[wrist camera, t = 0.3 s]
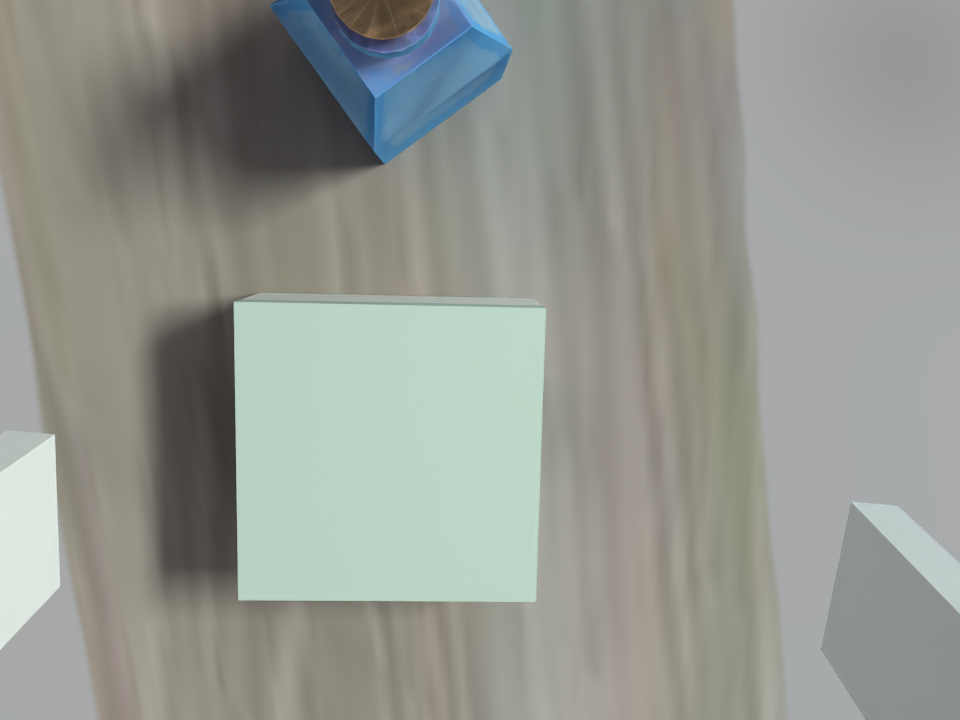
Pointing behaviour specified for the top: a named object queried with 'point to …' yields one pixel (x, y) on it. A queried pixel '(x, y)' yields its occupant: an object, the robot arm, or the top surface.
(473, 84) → the perfume bottle
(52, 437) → the robot arm
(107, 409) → the top surface
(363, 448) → the mint green square block
